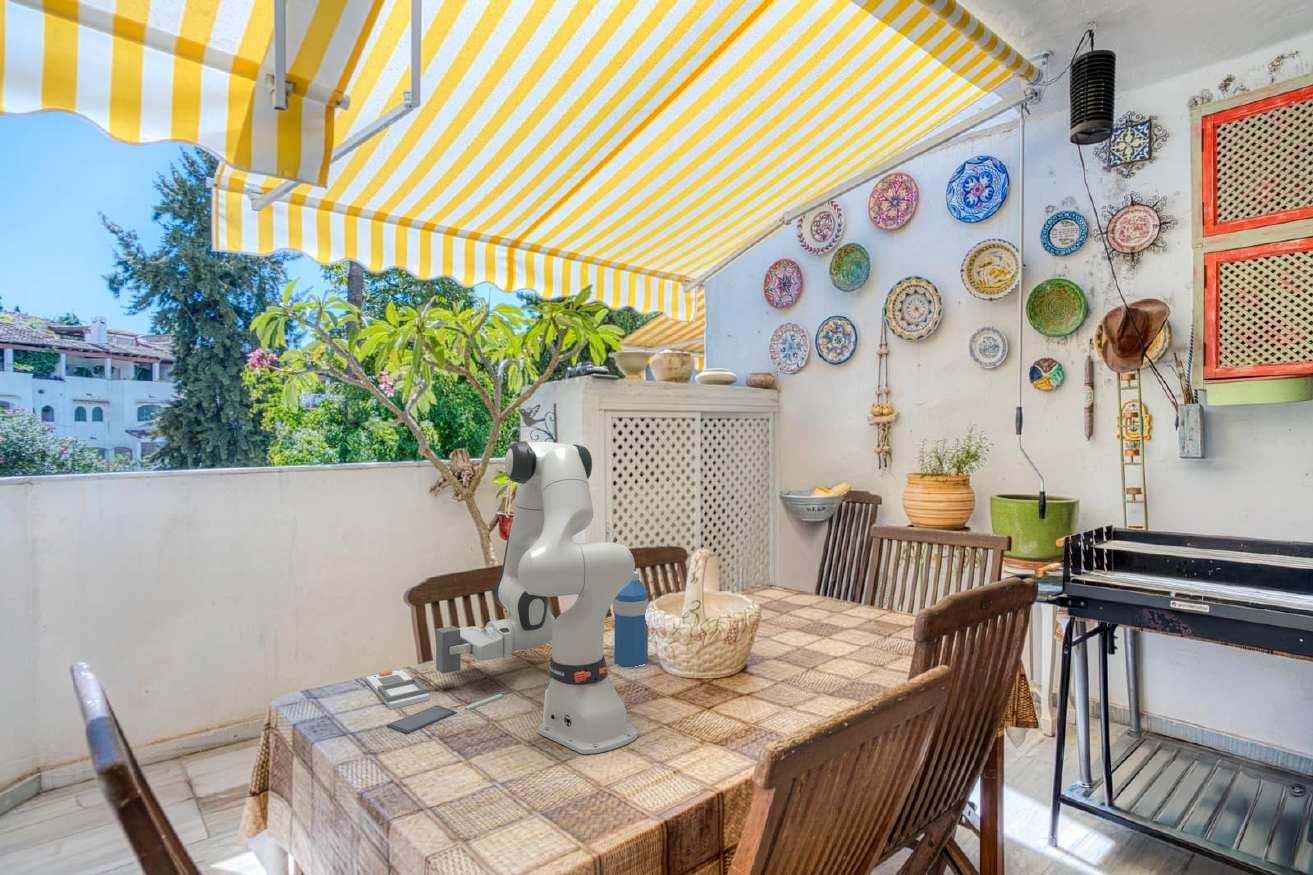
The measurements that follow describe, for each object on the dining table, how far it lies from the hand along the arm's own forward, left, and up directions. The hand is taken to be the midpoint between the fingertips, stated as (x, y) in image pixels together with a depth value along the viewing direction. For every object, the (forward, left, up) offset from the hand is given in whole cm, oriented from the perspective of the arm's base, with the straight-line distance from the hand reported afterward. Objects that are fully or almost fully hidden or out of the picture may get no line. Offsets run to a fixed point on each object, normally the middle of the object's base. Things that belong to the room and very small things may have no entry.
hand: (444, 647), depth 163 cm
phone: (-15, +10, -11) cm, 21 cm away
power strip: (+6, +10, -10) cm, 15 cm away
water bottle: (-12, -48, -10) cm, 51 cm away
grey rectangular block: (0, -1, -6) cm, 6 cm away
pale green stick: (-15, -4, -10) cm, 19 cm away
